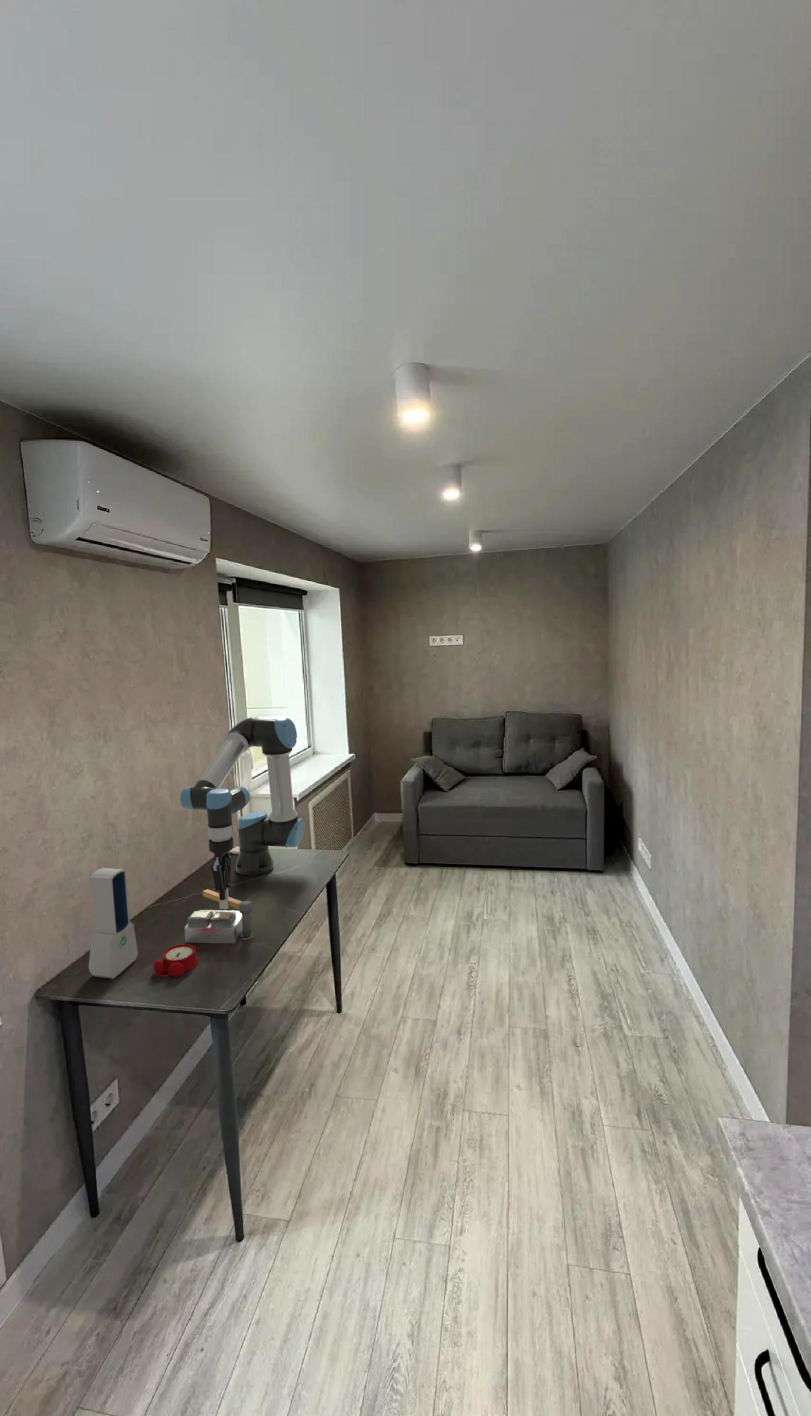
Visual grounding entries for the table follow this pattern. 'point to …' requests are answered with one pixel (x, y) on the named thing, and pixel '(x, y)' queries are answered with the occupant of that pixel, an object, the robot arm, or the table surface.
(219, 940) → the grey boxy piece
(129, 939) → the electronic device
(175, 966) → the alarm clock
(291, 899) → the table surface
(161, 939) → the table surface
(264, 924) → the table surface
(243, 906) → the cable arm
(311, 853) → the table surface
